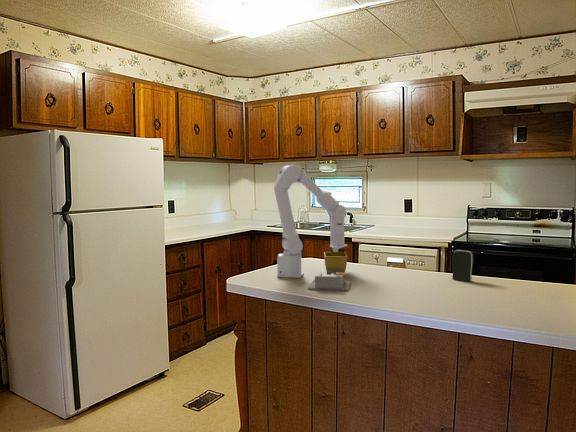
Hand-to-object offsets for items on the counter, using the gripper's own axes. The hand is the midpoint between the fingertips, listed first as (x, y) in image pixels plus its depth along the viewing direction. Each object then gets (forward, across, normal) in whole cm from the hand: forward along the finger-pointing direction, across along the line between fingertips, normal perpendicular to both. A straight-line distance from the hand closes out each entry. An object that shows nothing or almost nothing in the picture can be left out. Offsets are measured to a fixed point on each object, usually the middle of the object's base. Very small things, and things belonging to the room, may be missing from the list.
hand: (337, 266), depth 185 cm
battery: (+3, -5, -48) cm, 48 cm away
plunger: (+2, -18, -1) cm, 18 cm away
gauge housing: (+2, -24, 0) cm, 24 cm away
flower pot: (+3, -7, 0) cm, 8 cm away
